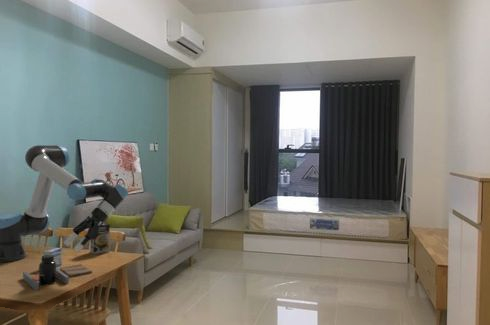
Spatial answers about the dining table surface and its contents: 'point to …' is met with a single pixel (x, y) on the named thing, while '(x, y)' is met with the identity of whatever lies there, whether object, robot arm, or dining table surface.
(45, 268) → the supplement bottle
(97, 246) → the coffee box
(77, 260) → the dining table surface
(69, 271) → the walnut pad
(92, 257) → the dining table surface
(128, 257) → the dining table surface
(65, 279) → the channel
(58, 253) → the medicine box
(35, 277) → the pad
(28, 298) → the dining table surface
